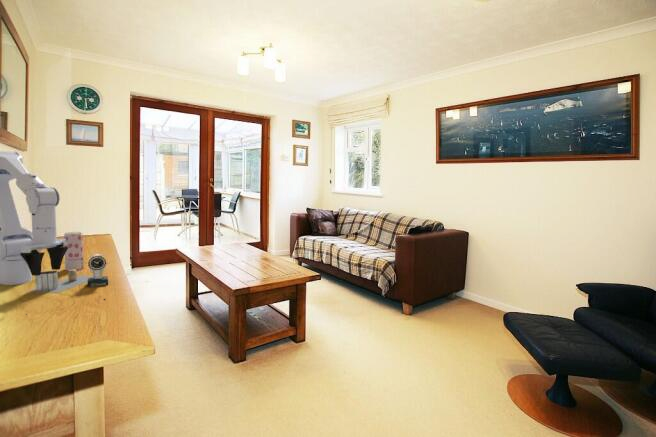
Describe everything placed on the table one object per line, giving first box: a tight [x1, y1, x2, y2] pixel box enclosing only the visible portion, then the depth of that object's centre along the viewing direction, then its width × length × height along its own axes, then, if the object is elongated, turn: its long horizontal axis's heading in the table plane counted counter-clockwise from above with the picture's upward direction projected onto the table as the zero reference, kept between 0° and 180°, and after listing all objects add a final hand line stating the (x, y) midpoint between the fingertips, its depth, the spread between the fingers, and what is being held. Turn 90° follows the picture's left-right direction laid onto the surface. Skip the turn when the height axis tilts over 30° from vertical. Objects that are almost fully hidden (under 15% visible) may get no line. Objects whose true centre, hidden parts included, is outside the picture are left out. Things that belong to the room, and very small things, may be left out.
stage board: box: [28, 274, 93, 294], centre depth 116 cm, size 9×20×1 cm, turn 179°
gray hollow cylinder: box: [34, 270, 59, 291], centre depth 110 cm, size 5×5×5 cm
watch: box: [87, 253, 109, 288], centre depth 116 cm, size 6×8×11 cm
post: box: [67, 269, 78, 282], centre depth 119 cm, size 2×2×4 cm
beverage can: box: [63, 231, 85, 272], centre depth 135 cm, size 6×6×15 cm
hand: (46, 272), depth 109 cm, fingers open, 7 cm apart
